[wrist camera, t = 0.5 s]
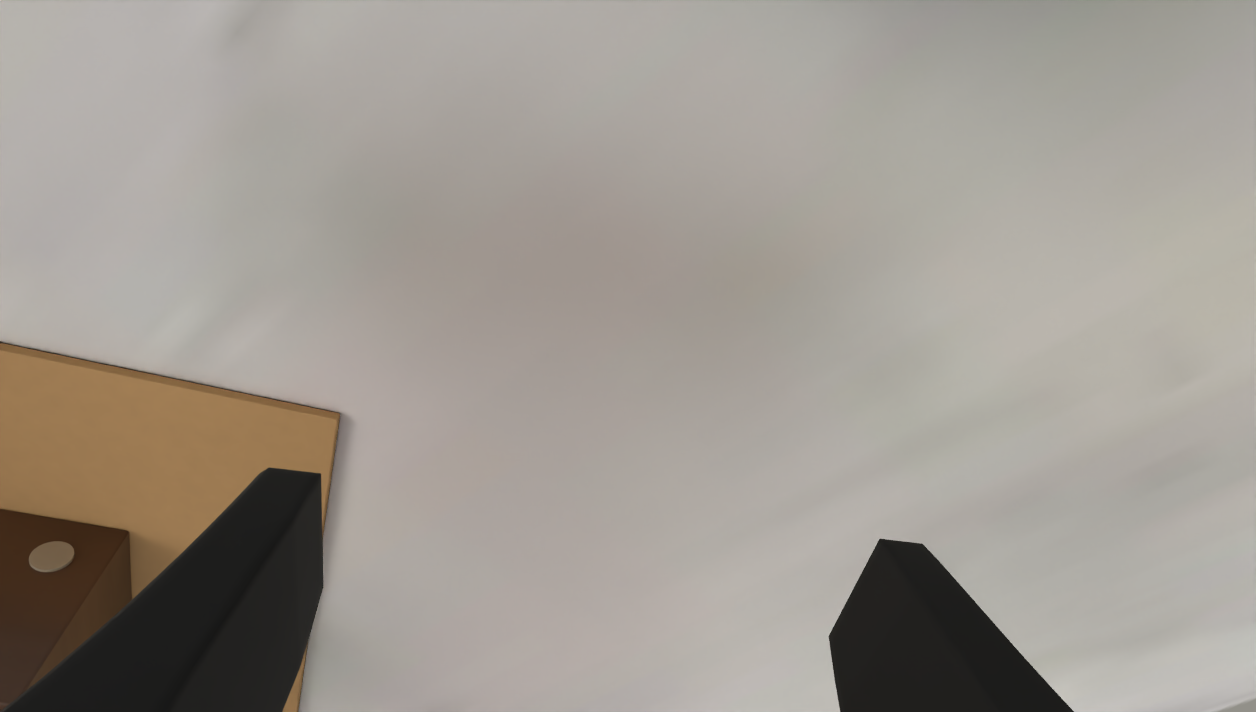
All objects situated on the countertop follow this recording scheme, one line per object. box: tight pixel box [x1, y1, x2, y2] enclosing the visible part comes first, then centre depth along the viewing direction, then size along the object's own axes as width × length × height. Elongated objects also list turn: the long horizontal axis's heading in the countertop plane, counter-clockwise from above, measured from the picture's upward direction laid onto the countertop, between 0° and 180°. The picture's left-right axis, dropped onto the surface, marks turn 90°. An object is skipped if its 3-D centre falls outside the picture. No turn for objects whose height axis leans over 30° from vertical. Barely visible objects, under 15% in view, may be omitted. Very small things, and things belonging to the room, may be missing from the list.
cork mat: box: [0, 343, 340, 712], centre depth 25 cm, size 20×16×1 cm
